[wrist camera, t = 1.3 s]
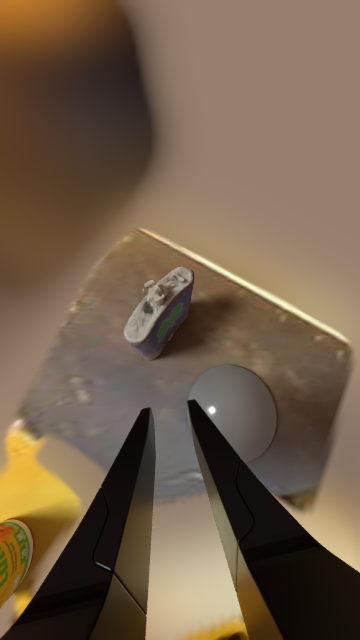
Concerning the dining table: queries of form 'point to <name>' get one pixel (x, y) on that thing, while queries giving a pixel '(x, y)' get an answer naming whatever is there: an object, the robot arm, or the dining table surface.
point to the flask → (160, 312)
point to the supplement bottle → (13, 556)
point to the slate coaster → (237, 408)
